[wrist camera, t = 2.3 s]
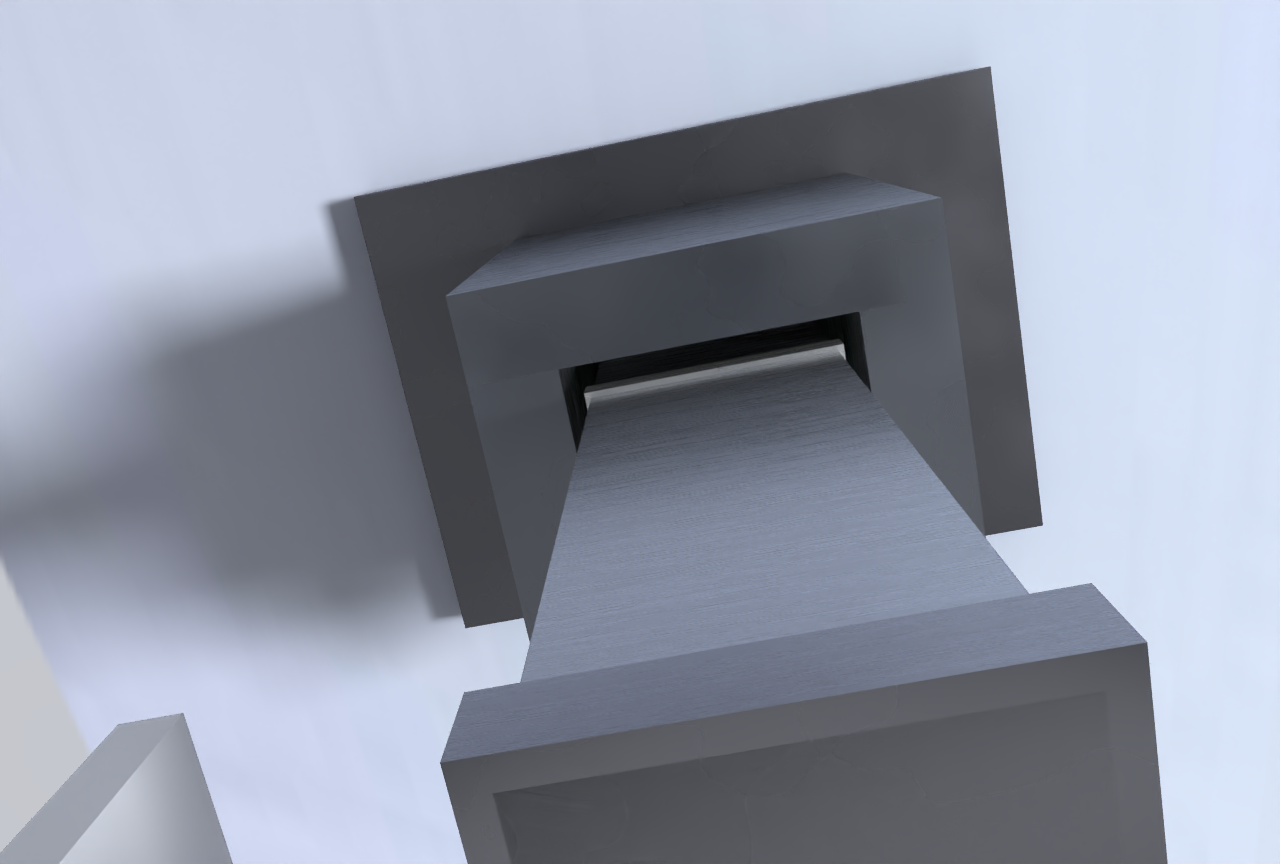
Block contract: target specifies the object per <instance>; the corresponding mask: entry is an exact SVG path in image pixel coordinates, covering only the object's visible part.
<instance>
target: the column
mask: <svg viewBox="0 0 1280 864" xmlns="http://www.w3.org/2000/svg"><path fill="white" fill-rule="evenodd" d="M584 395H585V400H586V405H587V409H588V413H587V417H586V421H585V425H584V429H583V433H582V437H581V441H580V445H579V449H578V453H577V457H576V461H575V465H574V469H573V473H572V477H571V481H570V485H569V489H568V493H567V497H566V501H565V505H564V509H563V513H562V517H561V521H560V525H559V529H558V533H557V537H556V541H555V545H554V549H553V553H552V557H551V561H550V565H549V569H548V573H547V577H546V581H545V585H544V589H543V593H542V597H541V601H540V605H539V609H538V613H537V617H536V621H535V625H534V629H533V633H532V637H531V641H530V645H529V649H528V653H527V657H526V661H525V665H524V670H523V674H522V678H521V682H520V683H516V684H510V685H504V686H499V687H493V688H487V689H481V690H476V691H470V692H464V695H463V698H462V700H461V703H460V706H459V709H458V712H457V715H456V718H455V721H454V724H453V727H452V730H451V732H450V735H449V738H448V741H447V744H446V747H445V750H444V753H443V756H442V759H441V762H440V764H441V768H442V771H443V775H444V779H445V782H446V786H447V790H448V793H449V797H450V801H451V804H452V808H453V811H454V815H455V819H456V822H457V826H458V830H459V833H460V837H461V841H462V844H463V848H464V852H465V855H466V859H467V863H468V864H1167V853H1166V842H1165V831H1164V820H1163V809H1162V798H1161V787H1160V776H1159V766H1158V755H1157V744H1156V733H1155V722H1154V711H1153V700H1152V689H1151V678H1150V668H1149V657H1148V646H1147V642H1146V641H1145V639H1144V638H1143V637H1142V636H1141V635H1140V634H1139V633H1138V632H1137V631H1136V630H1135V629H1134V628H1133V627H1132V626H1131V625H1130V624H1129V622H1128V621H1127V620H1126V619H1125V618H1124V617H1123V616H1122V615H1121V614H1120V613H1119V612H1118V611H1117V610H1116V609H1115V608H1114V606H1113V605H1112V604H1111V603H1110V602H1109V601H1108V600H1107V599H1106V598H1105V597H1104V596H1103V595H1102V594H1101V593H1100V592H1099V591H1098V589H1097V588H1096V587H1095V586H1094V585H1093V584H1092V583H1090V584H1084V585H1078V586H1073V587H1067V588H1061V589H1055V590H1050V591H1044V592H1038V593H1032V594H1029V593H1028V592H1027V590H1026V589H1025V588H1024V586H1023V585H1022V584H1021V583H1020V581H1019V580H1018V579H1017V578H1016V576H1015V575H1014V574H1013V572H1012V571H1011V570H1010V569H1009V567H1008V566H1007V565H1006V564H1005V562H1004V561H1003V560H1002V558H1001V557H1000V556H999V555H998V553H997V552H996V551H995V550H994V548H993V547H992V546H991V544H990V543H989V542H988V541H987V539H986V538H985V537H984V536H983V534H982V533H981V532H980V530H979V529H978V528H977V527H976V525H975V524H974V523H973V522H972V520H971V519H970V518H969V516H968V515H967V514H966V513H965V511H964V510H963V509H962V508H961V506H960V505H959V504H958V502H957V501H956V500H955V499H954V497H953V496H952V495H951V494H950V492H949V491H948V490H947V488H946V487H945V486H944V485H943V483H942V482H941V481H940V480H939V478H938V477H937V476H936V474H935V473H934V472H933V471H932V469H931V468H930V467H929V466H928V464H927V463H926V462H925V460H924V459H923V458H922V457H921V455H920V454H919V453H918V452H917V450H916V449H915V448H914V446H913V445H912V444H911V443H910V441H909V440H908V439H907V438H906V436H905V435H904V434H903V432H902V431H901V430H900V429H899V427H898V426H897V425H896V424H895V422H894V421H893V420H892V418H891V417H890V416H889V415H888V413H887V412H886V411H885V410H884V408H883V407H882V406H881V404H880V403H879V402H878V401H877V399H876V398H875V397H874V396H873V394H872V393H871V392H870V390H869V389H868V388H867V387H866V385H865V384H864V383H863V382H862V380H861V379H860V378H859V376H858V375H857V374H856V373H855V371H854V370H853V369H852V368H851V366H850V365H849V364H848V362H847V361H846V357H845V350H844V344H843V343H842V342H841V340H840V339H833V340H829V338H828V337H827V336H826V334H825V333H824V332H823V331H822V329H821V328H820V327H819V326H818V324H817V323H816V322H815V320H813V321H807V322H802V323H797V324H792V325H787V326H781V327H776V328H771V329H766V330H761V331H756V332H750V333H745V334H740V335H735V336H730V337H724V338H719V339H714V340H709V341H704V342H698V343H693V344H688V345H683V346H678V347H672V348H667V349H662V350H657V351H652V352H646V353H641V354H636V355H631V356H626V357H620V358H615V359H610V360H605V361H600V364H599V368H598V372H597V376H596V380H595V384H594V385H593V386H588V387H586V388H585V392H584Z"/></svg>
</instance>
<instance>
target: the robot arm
mask: <svg viewBox="0 0 1280 864" xmlns="http://www.w3.org/2000/svg"><path fill="white" fill-rule="evenodd" d="M0 864H233V863H232V860H231V857H230V854H229V851H228V848H227V845H226V841H225V838H224V835H223V832H222V829H221V826H220V823H219V820H218V817H217V814H216V811H215V808H214V805H213V802H212V799H211V796H210V793H209V790H208V787H207V784H206V781H205V778H204V775H203V772H202V769H201V766H200V763H199V760H198V757H197V754H196V750H195V747H194V744H193V741H192V738H191V735H190V732H189V729H188V726H187V723H186V720H185V717H184V714H183V713H181V714H175V715H169V716H164V717H158V718H152V719H147V720H141V721H135V722H130V723H124V724H118V725H117V726H116V728H115V729H114V730H113V731H112V732H111V733H110V734H109V735H108V736H107V737H106V738H105V740H104V741H103V742H102V743H101V744H100V745H99V746H98V747H97V748H96V749H95V750H94V751H93V753H92V754H91V755H90V756H89V757H88V758H87V759H86V760H85V761H84V762H83V764H82V765H81V766H80V767H79V768H78V769H77V770H76V771H75V772H74V773H73V774H72V775H71V777H70V778H69V779H68V780H67V781H66V782H65V783H64V784H63V785H62V787H60V789H59V790H58V791H57V792H56V793H55V794H54V795H53V796H52V797H51V798H50V799H49V800H48V802H47V803H46V804H45V805H44V806H43V807H42V808H41V809H40V810H39V811H38V812H37V814H36V815H35V816H34V817H33V818H32V819H31V820H30V821H29V822H28V823H27V825H26V826H25V827H24V828H23V829H22V830H21V831H20V832H19V833H18V834H17V835H16V837H15V838H14V839H13V840H12V841H11V842H10V843H9V844H8V845H7V846H6V847H5V848H4V850H3V851H2V852H1V853H0Z"/></svg>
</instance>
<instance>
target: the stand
mask: <svg viewBox="0 0 1280 864" xmlns="http://www.w3.org/2000/svg"><path fill="white" fill-rule="evenodd" d="M354 199H355V203H356V207H357V211H358V215H359V218H360V222H361V226H362V230H363V234H364V238H365V242H366V245H367V249H368V253H369V257H370V261H371V265H372V269H373V272H374V276H375V280H376V284H377V288H378V292H379V296H380V300H381V303H382V307H383V311H384V315H385V319H386V323H387V327H388V330H389V334H390V338H391V342H392V346H393V350H394V354H395V357H396V361H397V365H398V369H399V373H400V377H401V381H402V385H403V388H404V392H405V396H406V400H407V404H408V408H409V412H410V415H411V419H412V423H413V427H414V431H415V435H416V439H417V442H418V446H419V450H420V454H421V458H422V462H423V466H424V470H425V473H426V477H427V481H428V485H429V489H430V493H431V497H432V500H433V504H434V508H435V512H436V516H437V520H438V524H439V527H440V531H441V535H442V539H443V543H444V547H445V551H446V555H447V558H448V562H449V566H450V570H451V574H452V578H453V582H454V585H455V589H456V593H457V597H458V601H459V605H460V609H461V612H462V616H463V620H464V624H465V628H469V627H475V626H481V625H486V624H492V623H497V622H503V621H509V620H514V619H520V618H524V620H525V625H526V629H527V633H528V637H529V641H531V637H532V633H533V629H534V625H535V621H536V617H537V613H538V609H539V605H540V601H541V597H542V593H543V589H544V585H545V581H546V577H547V573H548V569H549V565H550V561H551V557H552V553H553V549H554V545H555V541H556V537H557V533H558V529H559V525H560V521H561V517H562V513H563V509H564V505H565V501H566V497H567V493H568V489H569V485H570V481H571V477H572V473H573V469H574V465H575V461H576V457H577V453H578V449H579V445H580V441H581V437H582V433H583V429H584V425H585V421H586V417H587V413H588V409H587V405H586V400H585V395H584V392H585V388H586V387H588V386H593V385H594V384H595V380H596V376H597V372H598V368H599V364H600V361H605V360H610V359H615V358H620V357H626V356H631V355H636V354H641V353H646V352H652V351H657V350H662V349H667V348H672V347H678V346H683V345H688V344H693V343H698V342H704V341H709V340H714V339H719V338H724V337H730V336H735V335H740V334H745V333H750V332H756V331H761V330H766V329H771V328H776V327H781V326H787V325H792V324H797V323H802V322H807V321H813V320H815V322H816V323H817V324H818V326H819V327H820V328H821V329H822V331H823V332H824V333H825V334H826V336H827V337H828V338H829V340H833V339H840V340H841V342H842V343H843V344H844V350H845V357H846V361H847V362H848V364H849V365H850V366H851V368H852V369H853V370H854V371H855V373H856V374H857V375H858V376H859V378H860V379H861V380H862V382H863V383H864V384H865V385H866V387H867V388H868V389H869V390H870V392H871V393H872V394H873V396H874V397H875V398H876V399H877V401H878V402H879V403H880V404H881V406H882V407H883V408H884V410H885V411H886V412H887V413H888V415H889V416H890V417H891V418H892V420H893V421H894V422H895V424H896V425H897V426H898V427H899V429H900V430H901V431H902V432H903V434H904V435H905V436H906V438H907V439H908V440H909V441H910V443H911V444H912V445H913V446H914V448H915V449H916V450H917V452H918V453H919V454H920V455H921V457H922V458H923V459H924V460H925V462H926V463H927V464H928V466H929V467H930V468H931V469H932V471H933V472H934V473H935V474H936V476H937V477H938V478H939V480H940V481H941V482H942V483H943V485H944V486H945V487H946V488H947V490H948V491H949V492H950V494H951V495H952V496H953V497H954V499H955V500H956V501H957V502H958V504H959V505H960V506H961V508H962V509H963V510H964V511H965V513H966V514H967V515H968V516H969V518H970V519H971V520H972V522H973V523H974V524H975V525H976V527H977V528H978V529H979V530H980V532H981V533H982V534H983V536H984V537H985V536H986V535H992V534H997V533H1003V532H1008V531H1014V530H1020V529H1025V528H1031V527H1037V526H1042V525H1043V523H1042V514H1041V505H1040V496H1039V488H1038V479H1037V470H1036V461H1035V453H1034V444H1033V435H1032V426H1031V418H1030V409H1029V400H1028V391H1027V383H1026V374H1025V365H1024V356H1023V348H1022V339H1021V330H1020V321H1019V313H1018V304H1017V295H1016V286H1015V278H1014V269H1013V260H1012V251H1011V243H1010V234H1009V225H1008V216H1007V208H1006V199H1005V190H1004V181H1003V172H1002V164H1001V155H1000V146H999V137H998V129H997V120H996V111H995V102H994V94H993V85H992V76H991V67H984V68H979V69H974V70H969V71H964V72H959V73H954V74H949V75H945V76H940V77H935V78H930V79H925V80H920V81H915V82H911V83H906V84H901V85H896V86H891V87H886V88H881V89H876V90H872V91H867V92H862V93H857V94H852V95H847V96H842V97H838V98H833V99H828V100H823V101H818V102H813V103H808V104H803V105H799V106H794V107H789V108H784V109H779V110H774V111H769V112H764V113H760V114H755V115H750V116H745V117H740V118H735V119H730V120H726V121H721V122H716V123H711V124H706V125H701V126H696V127H691V128H687V129H682V130H677V131H672V132H667V133H662V134H657V135H653V136H648V137H643V138H638V139H633V140H628V141H623V142H618V143H614V144H609V145H604V146H599V147H594V148H589V149H584V150H580V151H575V152H570V153H565V154H560V155H555V156H550V157H545V158H541V159H536V160H531V161H526V162H521V163H516V164H511V165H506V166H502V167H497V168H492V169H487V170H482V171H477V172H472V173H468V174H463V175H458V176H453V177H448V178H443V179H438V180H433V181H429V182H424V183H419V184H414V185H409V186H404V187H399V188H395V189H390V190H385V191H380V192H375V193H370V194H365V195H361V196H357V197H354ZM985 538H986V537H985Z"/></svg>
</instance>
